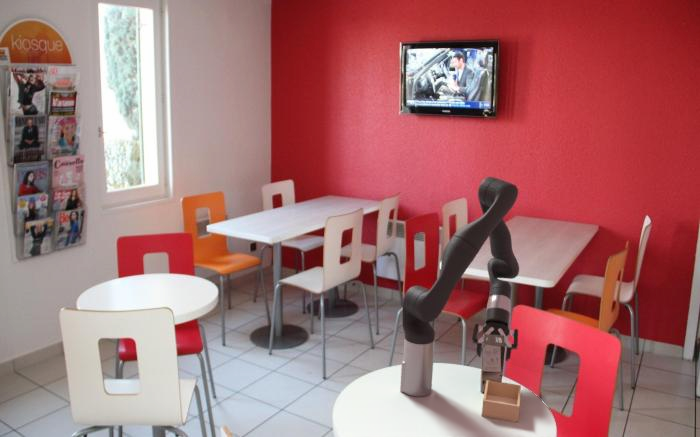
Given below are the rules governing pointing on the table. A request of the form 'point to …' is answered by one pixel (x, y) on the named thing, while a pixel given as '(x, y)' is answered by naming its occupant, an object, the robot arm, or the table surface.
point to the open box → (501, 401)
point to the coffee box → (492, 359)
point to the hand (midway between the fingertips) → (493, 358)
